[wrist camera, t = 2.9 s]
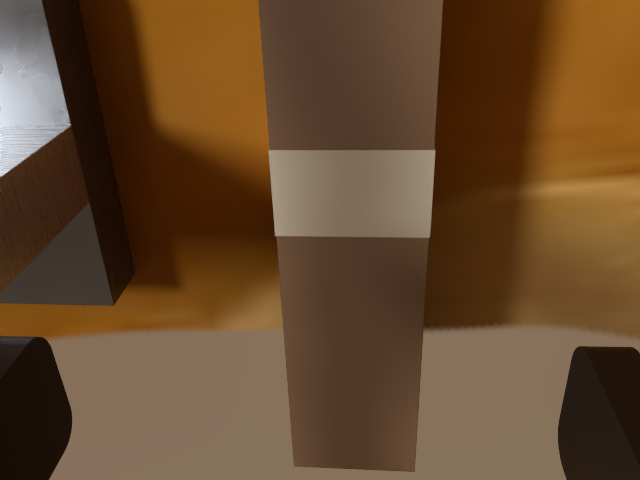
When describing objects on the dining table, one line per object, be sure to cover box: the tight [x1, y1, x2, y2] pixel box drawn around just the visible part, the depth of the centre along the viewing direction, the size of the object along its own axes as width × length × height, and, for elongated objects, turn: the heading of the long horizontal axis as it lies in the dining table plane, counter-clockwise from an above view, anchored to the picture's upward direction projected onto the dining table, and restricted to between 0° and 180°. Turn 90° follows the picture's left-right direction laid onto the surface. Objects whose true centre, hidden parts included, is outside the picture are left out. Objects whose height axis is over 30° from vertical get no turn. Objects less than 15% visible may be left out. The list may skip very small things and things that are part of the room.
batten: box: [258, 0, 443, 472], centre depth 17 cm, size 4×20×4 cm, turn 2°
